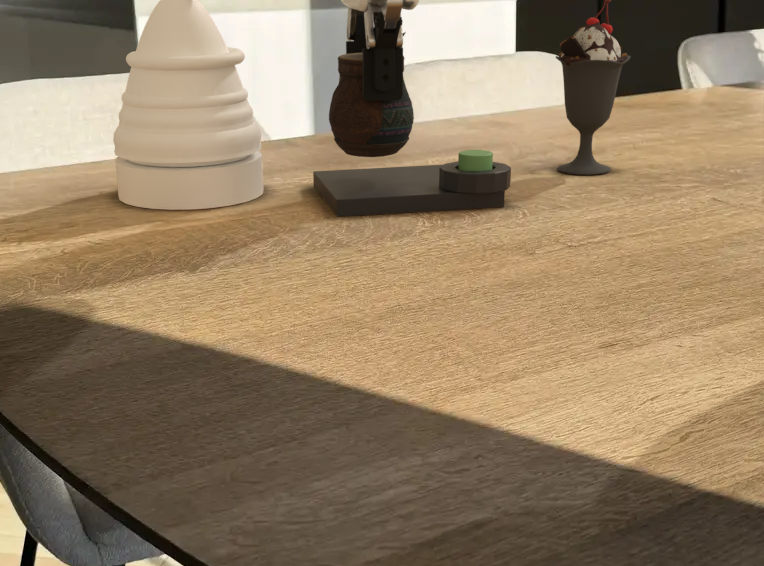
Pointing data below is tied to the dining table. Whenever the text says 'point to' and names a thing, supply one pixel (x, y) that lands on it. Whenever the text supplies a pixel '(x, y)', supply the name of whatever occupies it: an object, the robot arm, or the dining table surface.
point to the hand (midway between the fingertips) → (373, 92)
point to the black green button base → (412, 189)
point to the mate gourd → (367, 114)
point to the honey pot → (186, 117)
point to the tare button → (475, 160)
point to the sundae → (590, 87)
